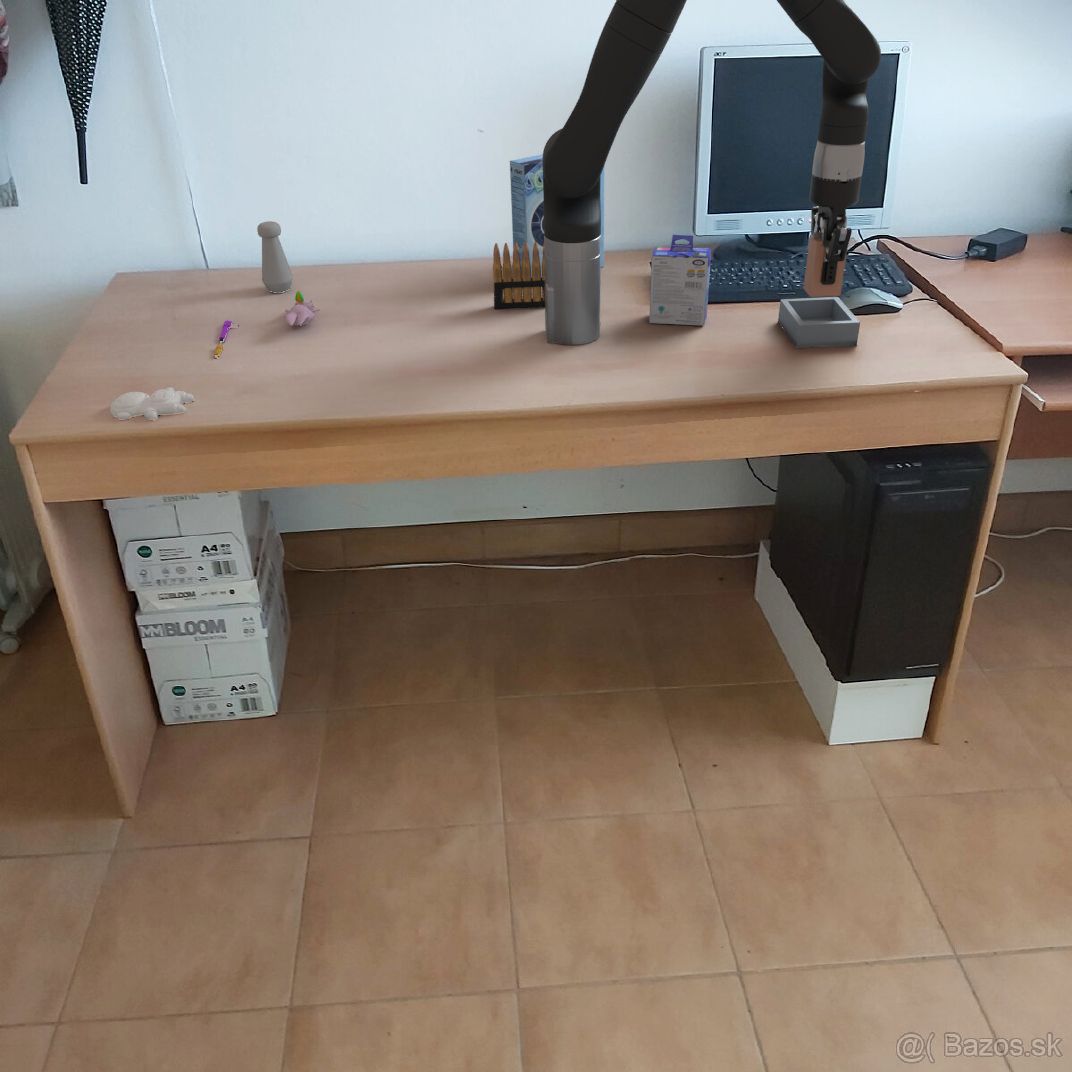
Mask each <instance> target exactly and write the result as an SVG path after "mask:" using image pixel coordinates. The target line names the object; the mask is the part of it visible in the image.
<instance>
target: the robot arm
mask: <svg viewBox="0 0 1072 1072" xmlns="http://www.w3.org/2000/svg"><path fill="white" fill-rule="evenodd" d="M776 2H777V3H778V4H779V6H780V8H782V9H783V11H784V12H785V13H786V15H787V16H788V17H789V19H790V20H791V22H793V24H794V25H795V26H796V27H797V28H798V30H799V31H800V32H801V33H802V34H803V35H805V37H807V38H808V39H809V40H810V41H811V43H812V44H813V46H814V48H815V49H816V50H817V52H818V53H819V55H820V56H821V57H822V59H823V62H822V64H823V65H822V103H821V105H822V108H821V113H820V118H819V125H818V126H819V127H818V133H817V142H816V147H815V150H814V154H813V155H814V156H813V161H812V162H813V163H812V170H811V171H812V172H811V179H810V180H811V181H810V187H809V188H810V189H809V198H808V199H809V202H810V203H811V204H812V205H815V206H812V207H811V208H810V209H811V210H810V213H811V216H810V217H811V221H810V235H813V234H814V232H821V242H822V244H821V245H822V247H824V253H823V265H822V273H821V283H822V284H823V285H832V284H834V283H835V279H836V271H837V264H838V262H841V261H844V259H845V255H846V256H847V253H846V251H847V252H848V247H849V244H850V241H851V240H850V239H851V236H852V233H853V230H852V228H851V227H847V226H848V217H847V211H846V210H847V209H849V207H852V206H855V205H856V204H857V203H858V202H859V200H860V199H859V198H860V190H861V184H862V177H863V170H864V165H865V164H864V163H865V156H866V155H865V154H866V153H865V152H866V151H865V150H866V149H865V145H866V137H867V130H868V123H869V113H870V111H869V110H870V109H869V104H868V101H867V90H868V82H869V79H871V78H872V77H873V76H874V75H875V74H876V72H877V70H878V69H879V66H880V63H881V59H882V50H881V46H880V42H879V41H878V39H877V38H876V37H875V35H874V34H873V33H872V31H871V30H870V29H869V27H868V26H867V25H866V24H865V23H864V22H863V20H862V19H861V18H860V17H859V16H858V14H857V13H856V12H855V11H854V10H853V9H852V8H851V7H850V6H849V5H848V3H847V2H846V1H845V0H776ZM686 3H687V0H615V2H614V5H613V7H612V9H611V11H610V13H609V14H608V17H607V19H606V21H605V23H604V26H603V28H602V30H601V33H600V35H599V38H598V40H597V43H596V46H595V49H594V51H593V54H592V57H591V60H590V63H589V67H588V70H587V73H586V76H585V77H586V78H585V81H584V84H583V86H582V90H581V93H580V94H579V97H578V100H577V101H576V104H575V105H574V108H573V109H572V111H571V113H570V115H568V116H569V117H568V118H567V120H566V122H565V123H564V125H563V126H562V128H560V129H558V130H556V131H554V133H552V134H551V135H550V137H549V138H548V139H547V140H546V143H545V145H544V147H543V152H542V154H543V161H542V167H543V196H544V246H545V277H544V286H545V308H544V315H545V316H544V319H545V321H544V322H545V324H544V325H545V328H544V329H545V334H546V335H545V336H546V342H547V343H555V344H556V343H557V344H560V345H561V344H562V345H573V346H574V345H584V344H585V345H586V344H589V343H591V342H594V341H595V340H598V339H599V338H600V335H601V284H602V283H601V280H602V279H601V271H602V270H601V201H600V187H601V173H602V170H603V168H604V169H605V165H606V162H607V159H608V156H609V153H610V152H611V149H612V146H613V144H614V141H615V139H616V136H617V134H618V132H619V129H620V127H621V126H622V125H621V124H623V122H624V119H625V117H626V115H627V114H628V113H629V110H630V108H631V107H632V105H633V104H634V102H635V101H636V99H637V97H638V96H639V94H640V93H641V91H642V89H643V88H644V85H645V84H646V82H647V81H648V78H649V76H650V75H651V74H652V72H653V70H654V68H655V66H656V64H657V63H658V61H659V59H660V57H661V55H662V54H663V51H664V49H665V48H666V46H667V44H668V42H669V39H670V38H671V36H672V33H673V31H674V29H675V27H676V25H677V23H678V21H679V19H680V16H681V14H682V12H683V10H684V8H685V6H686ZM827 239H831V242H828V241H827ZM835 250H836V253H835V254H834V251H835Z"/></svg>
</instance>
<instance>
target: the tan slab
mask: <svg viewBox="0 0 1072 1072" xmlns="http://www.w3.org/2000/svg"><path fill="white" fill-rule="evenodd" d="M827 241H828V242H831V239H827ZM821 244H822V242H821V232H820V231H819V232H814V234H813V235H811V234H810V235H809V241H808V248H807V257H806V267H805V273H804V281H803V282H804V283H803V290H804V291H805V292H806V294H807V295H808V296H809V298H822V297H838V296H841V294H842V288H843V282H844V281H843V280H844V272H845V268H846V258H847V253H848V250H847V251H846V255H845V259H844V261H841V262H838V264H837V271H836V279H835V283H834V284H832V285H823V284H822V283H821V273H822V265H823V253H824V247H822V245H821ZM835 253H836V250H835V251H834V254H835Z"/></svg>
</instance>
